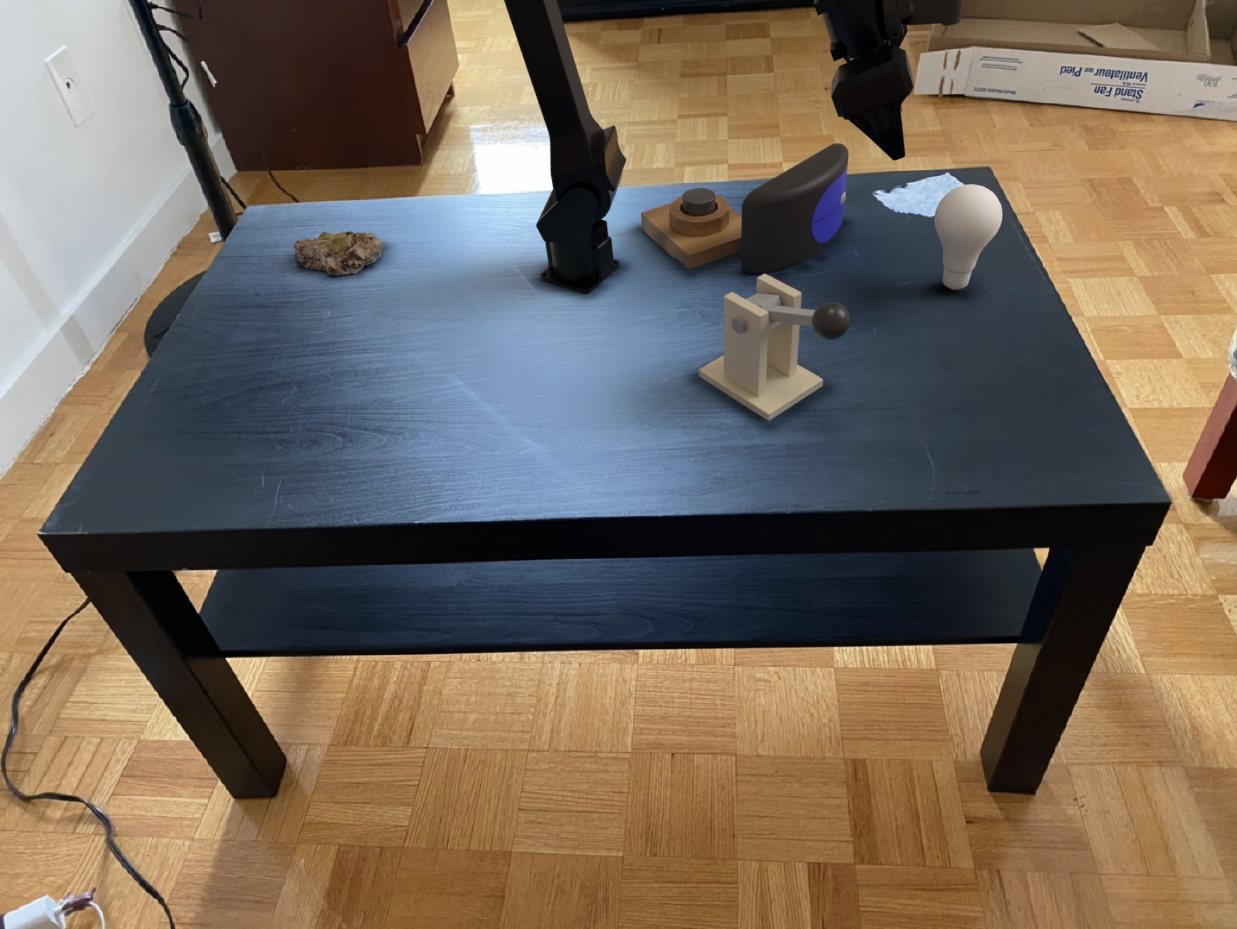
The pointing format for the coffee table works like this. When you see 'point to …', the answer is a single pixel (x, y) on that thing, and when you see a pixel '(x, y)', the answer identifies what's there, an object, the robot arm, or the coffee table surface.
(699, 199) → the button
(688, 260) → the button block
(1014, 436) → the coffee table surface
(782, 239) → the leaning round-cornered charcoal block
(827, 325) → the switch lever
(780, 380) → the switch bracket
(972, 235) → the lightbulb
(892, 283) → the coffee table surface
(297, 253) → the mineral rock
